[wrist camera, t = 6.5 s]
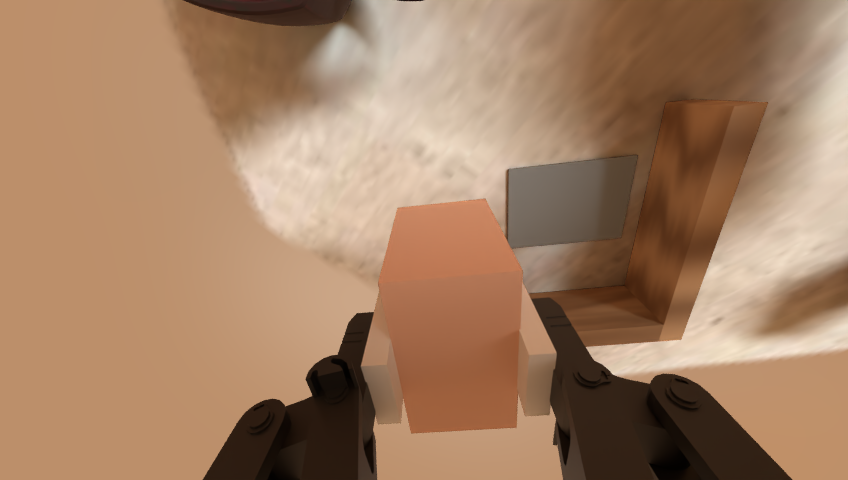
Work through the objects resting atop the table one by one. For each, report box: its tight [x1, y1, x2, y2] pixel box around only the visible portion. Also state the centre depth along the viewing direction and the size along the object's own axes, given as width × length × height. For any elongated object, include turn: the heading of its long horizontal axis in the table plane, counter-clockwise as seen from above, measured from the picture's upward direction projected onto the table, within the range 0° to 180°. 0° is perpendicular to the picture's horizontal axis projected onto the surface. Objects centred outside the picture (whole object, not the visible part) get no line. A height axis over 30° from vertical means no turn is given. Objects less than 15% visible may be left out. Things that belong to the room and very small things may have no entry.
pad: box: [508, 155, 638, 248], centre depth 28 cm, size 8×11×1 cm
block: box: [378, 199, 523, 433], centre depth 12 cm, size 7×4×6 cm, turn 6°
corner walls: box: [529, 99, 768, 347], centre depth 26 cm, size 20×14×6 cm
